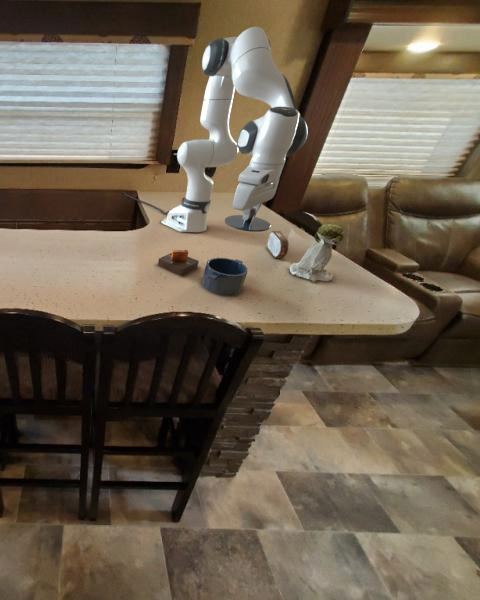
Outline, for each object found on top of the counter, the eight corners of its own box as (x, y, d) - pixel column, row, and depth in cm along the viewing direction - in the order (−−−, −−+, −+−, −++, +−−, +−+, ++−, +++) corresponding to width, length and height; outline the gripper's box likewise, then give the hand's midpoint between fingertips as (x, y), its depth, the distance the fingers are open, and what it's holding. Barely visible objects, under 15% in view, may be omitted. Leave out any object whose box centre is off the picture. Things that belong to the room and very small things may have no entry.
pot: (189, 286, 101) (194, 267, 97) (217, 270, 110) (223, 252, 106) (224, 303, 93) (231, 282, 89) (251, 284, 102) (258, 264, 98)
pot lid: (215, 224, 97) (220, 207, 94) (236, 215, 104) (241, 199, 101) (257, 237, 89) (263, 219, 85) (277, 226, 95) (283, 209, 92)
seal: (171, 260, 111) (173, 251, 109) (171, 258, 112) (172, 249, 110) (186, 260, 110) (188, 251, 108) (185, 258, 112) (187, 249, 110)
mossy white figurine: (281, 266, 112) (301, 219, 102) (313, 264, 113) (335, 218, 102) (303, 282, 102) (328, 232, 92) (338, 280, 103) (366, 230, 93)
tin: (283, 262, 115) (292, 242, 110) (275, 261, 116) (283, 241, 111) (271, 246, 127) (278, 227, 123) (263, 245, 128) (270, 227, 123)
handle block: (157, 265, 114) (158, 258, 112) (173, 258, 119) (174, 250, 117) (181, 276, 107) (183, 268, 105) (197, 267, 112) (199, 260, 110)
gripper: (268, 166, 94) (254, 208, 102) (235, 175, 84) (222, 222, 92) (289, 169, 90) (273, 213, 98) (258, 180, 80) (242, 228, 88)
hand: (248, 218), depth 95 cm, fingers closed on pot lid, 2 cm apart
